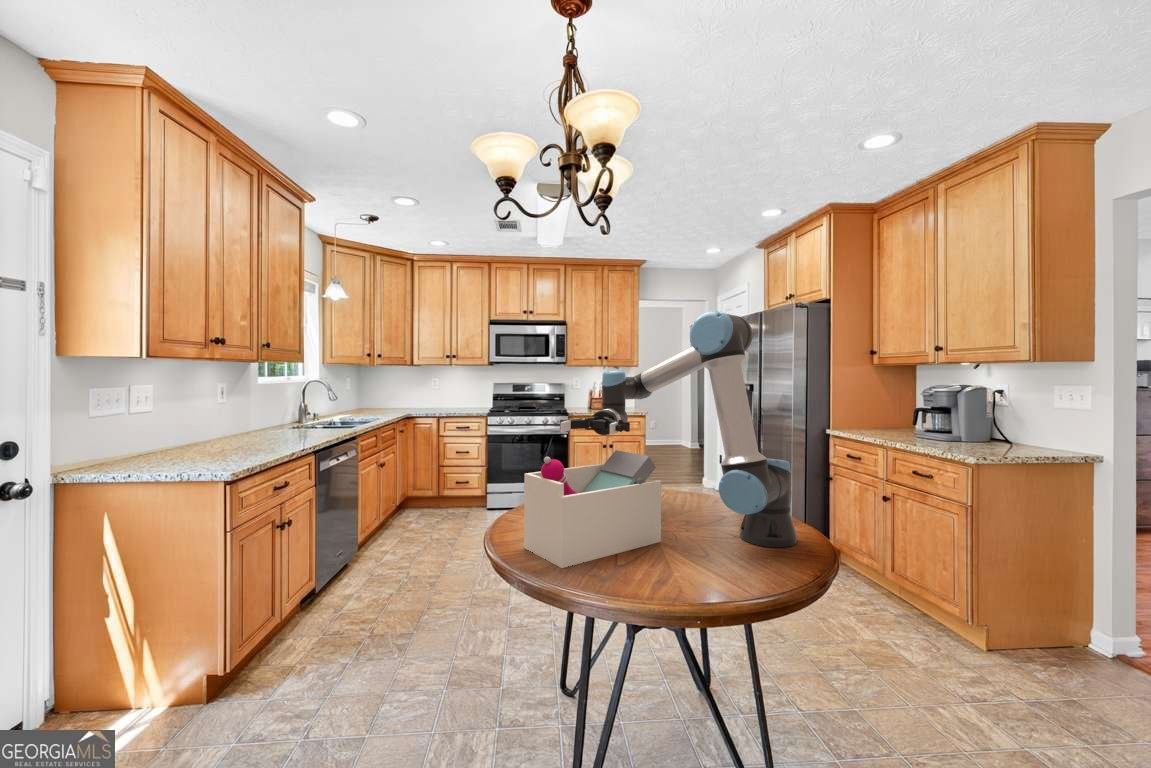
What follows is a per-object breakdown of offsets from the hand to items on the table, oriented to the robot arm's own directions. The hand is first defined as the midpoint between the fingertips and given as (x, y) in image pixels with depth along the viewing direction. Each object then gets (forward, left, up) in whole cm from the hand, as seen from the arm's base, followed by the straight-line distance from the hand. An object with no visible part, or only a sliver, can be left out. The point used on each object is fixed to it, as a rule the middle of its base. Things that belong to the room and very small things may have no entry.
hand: (585, 428), depth 134 cm
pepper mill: (+2, +1, -24) cm, 25 cm away
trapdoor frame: (+2, -4, -32) cm, 33 cm away
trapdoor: (+2, -12, -19) cm, 22 cm away
